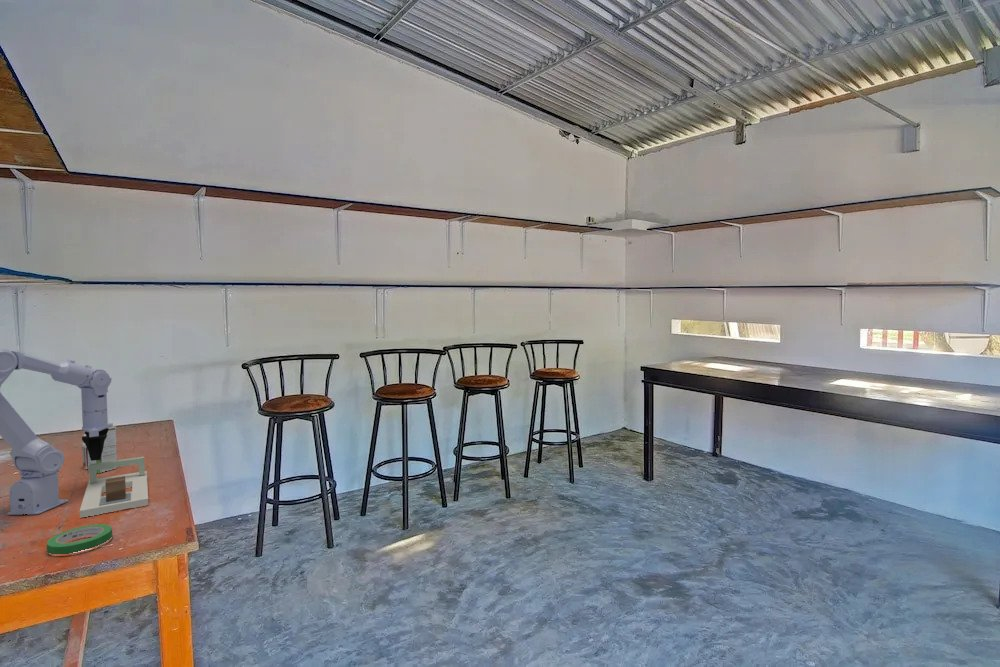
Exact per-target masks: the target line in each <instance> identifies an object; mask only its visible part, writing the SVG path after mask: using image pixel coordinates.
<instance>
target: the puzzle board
mask: <svg viewBox="0 0 1000 667" xmlns="http://www.w3.org/2000/svg"><path fill="white" fill-rule="evenodd" d="M147 473H148V471H147V470H145V475H139V471H137V472H131V473H130V472H129V473H125V474H118V475H111V476H106V477H99V478H98V477H97V482H95V483H90V479H89V480H88V482H87V485H86V488H85V492H84V495H83V499H82V502H81V505H80V509H79V519H80V518H81V517H87V518H89V517H88V516H93V517H95V516H94V515H98V516H100V515H99V514H103V513H108V512H113V511H117V510H122V509H127V508H133V507H138V506H143V505H148V506H149V491H148V488H149V487H148V474H147ZM122 476H125V485H126V488H129V489H131V491H126V498H125V499H121V500H116V501H110V502H106V495H104V496H103V494H104V492H105V493H106V485H105V483H106V479H109V478H116V477H122ZM130 487H132V488H130ZM103 515H104V514H103Z"/></svg>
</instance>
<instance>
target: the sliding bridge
mask: <svg viewBox="0 0 1000 667" xmlns="http://www.w3.org/2000/svg"><path fill="white" fill-rule="evenodd" d="M136 465H138V472H139V475H145V471H146V470H145V456H137V457H131V458H124V459H117V460H115V461H108V462H101V463H94V464H89V472H88V473H89V480H90V483H95V482H97V479H98V476H97V474H98V473H97V471H96V470H101V469H108V468H115V467H117V468H121V467H128V466H136Z"/></svg>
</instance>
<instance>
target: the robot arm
mask: <svg viewBox="0 0 1000 667" xmlns="http://www.w3.org/2000/svg"><path fill="white" fill-rule="evenodd" d="M23 369H24V370H28V371H33V372H38V373H41V374H46V375H47V374H48V375H50V376H51V379H52V380H53V381H55V382H59V383H64V384H67V385H71V386H76V387H77V388H78V389H80V391H81V416H82V419H81V420H82V427H81V430H82V431H84V434H86V436H82V437H81V441H82V442H83V443H85V445H86V447H87V449H88V452H89V456H90V459H91V461H94V460H100V459H101V455H102V452H103V447H104V441H105V439H106V437H107V435H106V434H107V432H108V431H109V428H108V427H112V426H114V424H113V423H111V422H110V423H109V421H108V420H109V419H108V418H109V417H108V398H107V395H108V392H109V391H108V390H109V389H108V388H109V386H110V385H111V383H112V379H113V378H112V377H110V374H109V372H107V371H106V370H104V369H99V368H97V369H96V368H92V366H90V365H89V364H87V365H82V364H78V363H76V361H75V360H72V359H67V360H61V361H59V362H54V361H52V360H51V361H50V360H47V359H44V358H42V357H37V356H35V355H31V354H27V353H25V352H21V351H17V350H15V351H14V350H9V349H5V348H0V388H1V387H2V386H3V384H4V383H5V381H7V379H8V378H9V377H10V376H11V374H12V373H13V372H14V371H16V370H17V371H19V370H23ZM0 437H1V438H2V439H3V440H4V441H5V443H6V444H8V446H9V447H10V449H11V450H10V452H9V455H10V456H11V457H12V460H13V465H14V468H15V469H16V470H18V471H19V474H20V478H19V479H18V480H17V481H16V482H14V483H13V484H12V485H11V486H10V488H9V504H10V505H9V506H10V508H9V509H10V511H8V512H7V513H6V514H7V515H8V516H9V515H10V516H14V515H15V516H17V515H18V516H19V515H20V516H21V515H23V514H24V515H25V514H27V515H40V514H42V513H45V512H47V511H49V510H51V509H53V508H56V507H59V506H60V505H62V504H64V503H65V504H66V503H68V502H69V499H65V498H64V499H63V498H62V499H60V487H59V484H60V482H59V473H60V469H61V468H62V467H63V465H64V463H65V455H64V453H63V451H61V450H60V449H58V448H55V447H53V446H52V445H51V444H50V443H49V442H47V441H45V440H43V439H41V438H39V437H38V436H37V434H36V433H35V432H34V431H33V430H32V429H31V427H30V426H29V424H27V422H26V421H25V420H24V419H23V418H22V417H21V415H20V414H19V413H18V412H17V411H16V410H15V408H14V407H13V406H12V404H11V403H10V402H9V401H8V400H7V398H6V397H5V396H4V395H3V394H2V393H1V392H0Z"/></svg>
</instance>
